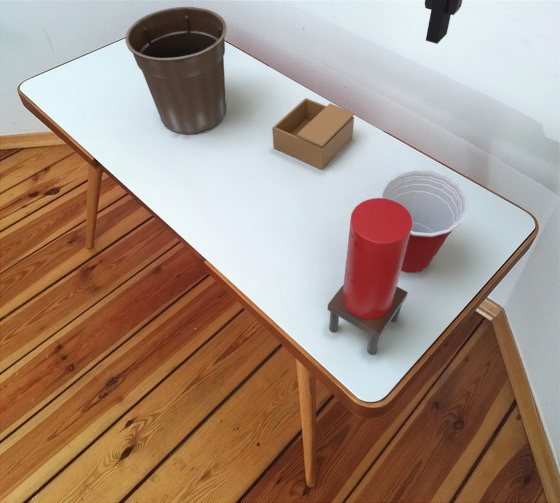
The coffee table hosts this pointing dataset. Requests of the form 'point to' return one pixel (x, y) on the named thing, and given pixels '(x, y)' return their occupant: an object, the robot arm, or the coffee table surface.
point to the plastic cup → (426, 211)
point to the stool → (367, 325)
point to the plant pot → (182, 65)
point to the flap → (325, 124)
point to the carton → (302, 148)
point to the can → (375, 256)
